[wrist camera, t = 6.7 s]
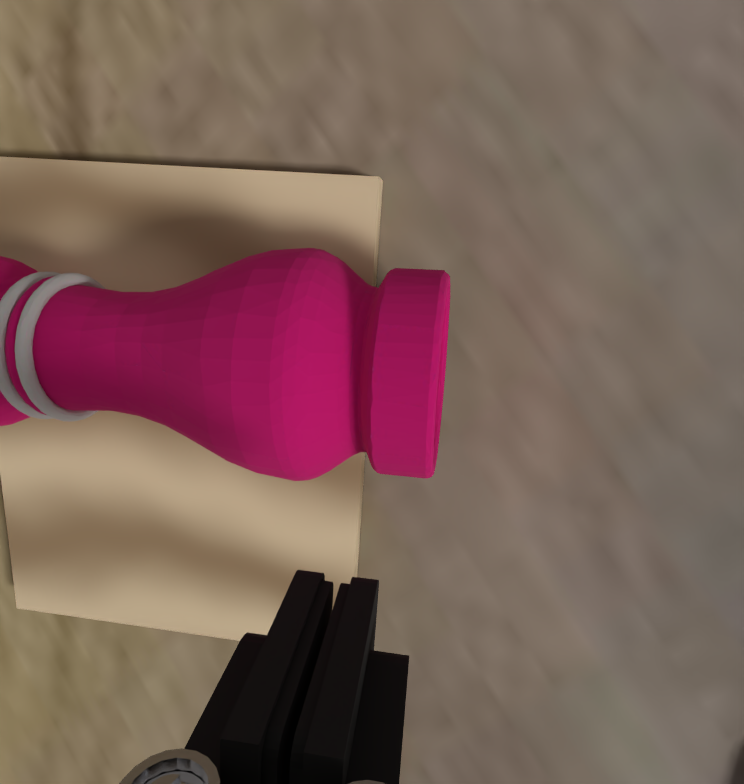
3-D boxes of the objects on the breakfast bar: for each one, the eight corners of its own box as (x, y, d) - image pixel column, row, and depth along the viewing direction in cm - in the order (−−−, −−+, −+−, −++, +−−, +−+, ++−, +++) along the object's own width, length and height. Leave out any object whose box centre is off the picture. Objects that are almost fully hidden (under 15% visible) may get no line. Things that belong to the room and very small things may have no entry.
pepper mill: (425, 548, 14) (-186, 470, 18) (441, 431, 21) (-6, 389, 24) (443, 276, 12) (-283, 242, 15) (455, 239, 18) (-51, 221, 22)
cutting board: (353, 638, 25) (348, 656, 24) (34, 592, 27) (16, 608, 26) (383, 180, 20) (379, 176, 19) (-14, 159, 22) (-40, 154, 20)
